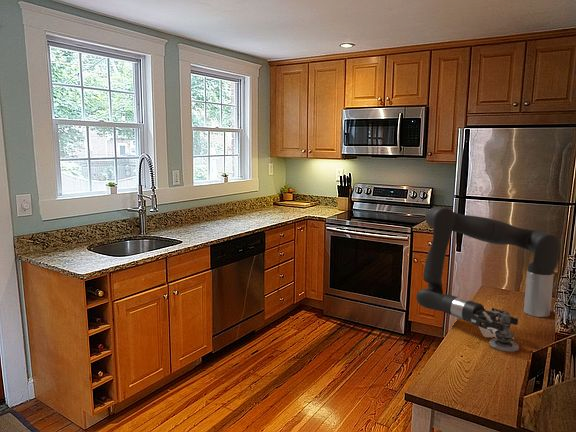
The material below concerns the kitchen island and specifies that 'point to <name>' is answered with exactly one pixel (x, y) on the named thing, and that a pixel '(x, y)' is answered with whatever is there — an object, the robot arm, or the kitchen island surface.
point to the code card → (488, 332)
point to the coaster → (507, 349)
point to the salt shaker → (505, 335)
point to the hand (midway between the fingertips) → (510, 325)
